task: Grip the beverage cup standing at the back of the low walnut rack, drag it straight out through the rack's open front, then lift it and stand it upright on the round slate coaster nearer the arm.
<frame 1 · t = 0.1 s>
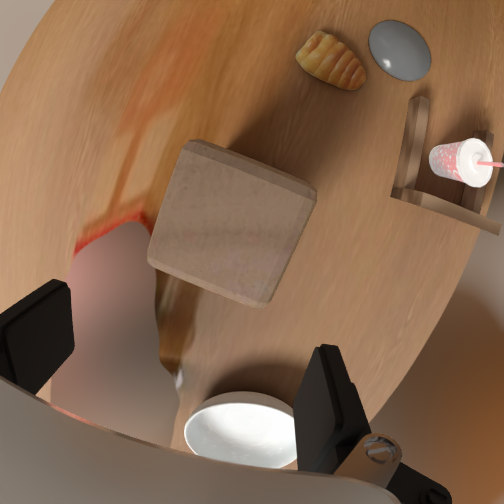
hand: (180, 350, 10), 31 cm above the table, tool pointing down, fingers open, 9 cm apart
block: (244, 197, 40), on the table
rack: (441, 160, 37), on the table
coaster: (400, 50, 32), on the table
beverage cup: (440, 160, 37), resting in rack
pastry: (328, 62, 34), on the table
serving bowl: (247, 415, 51), on the table
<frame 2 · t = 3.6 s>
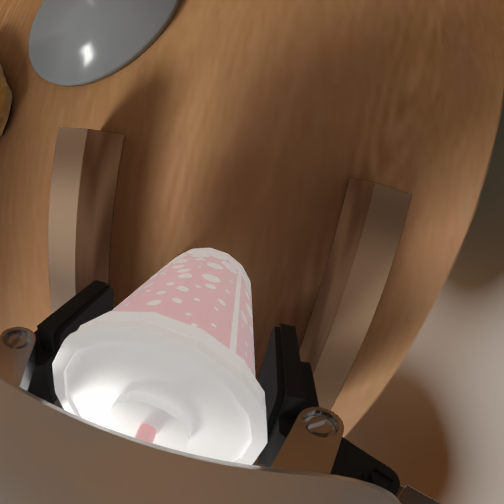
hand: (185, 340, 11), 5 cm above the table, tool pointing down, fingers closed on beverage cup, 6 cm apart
rack: (206, 291, 15), on the table
coaster: (98, 9, 11), on the table
beverage cup: (207, 289, 15), resting in rack, touching gripper
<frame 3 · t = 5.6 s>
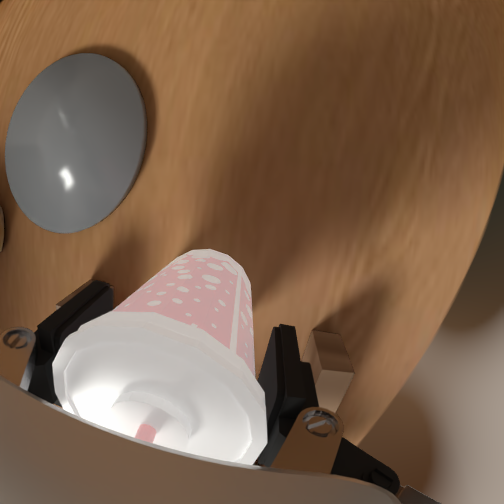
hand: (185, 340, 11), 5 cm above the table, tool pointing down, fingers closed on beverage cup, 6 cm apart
rack: (195, 403, 18), on the table
coaster: (66, 141, 13), on the table
beverage cup: (207, 291, 16), on the table, touching gripper
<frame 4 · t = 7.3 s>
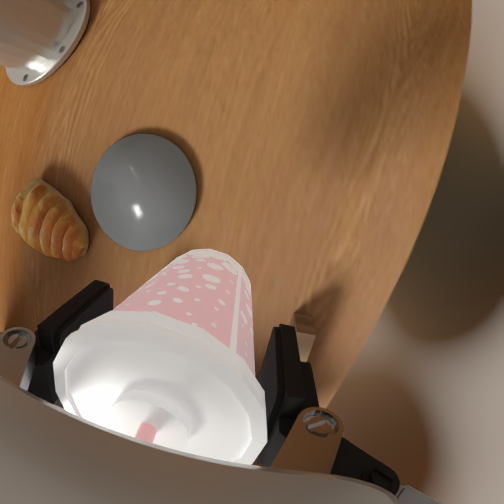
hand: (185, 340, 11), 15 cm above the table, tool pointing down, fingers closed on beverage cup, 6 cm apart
rack: (219, 362, 28), on the table
coaster: (141, 192, 25), on the table
beverage cup: (207, 290, 16), point 10 cm above the table, touching gripper
pastry: (56, 217, 26), on the table
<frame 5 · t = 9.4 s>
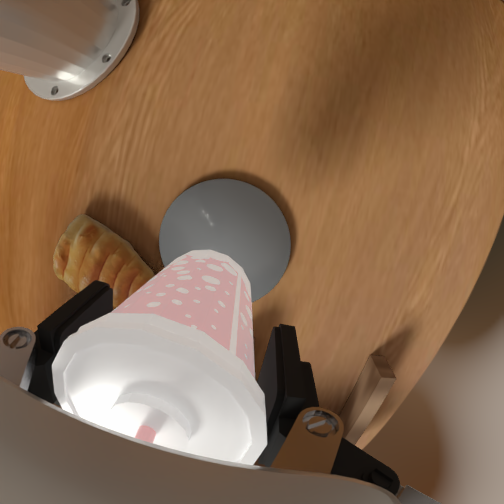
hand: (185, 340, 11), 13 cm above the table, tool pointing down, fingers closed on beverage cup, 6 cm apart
rack: (293, 402, 28), on the table
coaster: (224, 244, 23), on the table
beverage cup: (206, 291, 15), point 8 cm above the table, touching gripper
pastry: (108, 258, 25), on the table
when the fingers open (6 cm above the table, at t = 11.1 s): beverage cup stays where it is, resting on coaster.
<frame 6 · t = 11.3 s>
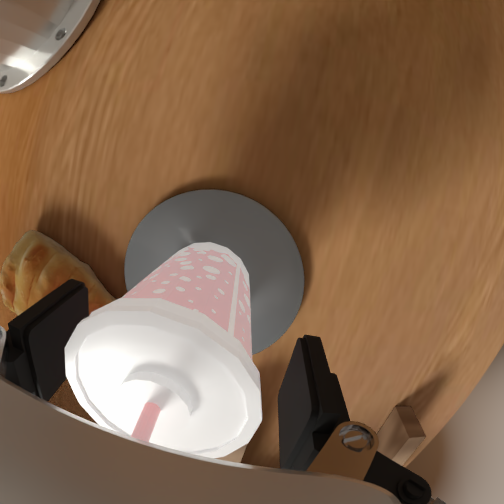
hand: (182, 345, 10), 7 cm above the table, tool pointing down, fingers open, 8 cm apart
rack: (300, 457, 21), on the table
coaster: (211, 280, 17), on the table
beverage cup: (207, 282, 16), resting on coaster
pastry: (68, 285, 18), on the table
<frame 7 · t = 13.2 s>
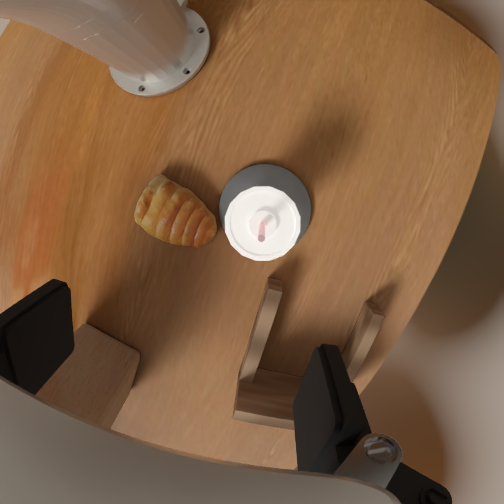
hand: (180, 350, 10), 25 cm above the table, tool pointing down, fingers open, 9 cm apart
block: (108, 358, 41), on the table
rack: (306, 340, 38), on the table
coaster: (265, 209, 34), on the table
beverage cup: (263, 209, 33), resting on coaster
pastry: (176, 210, 34), on the table
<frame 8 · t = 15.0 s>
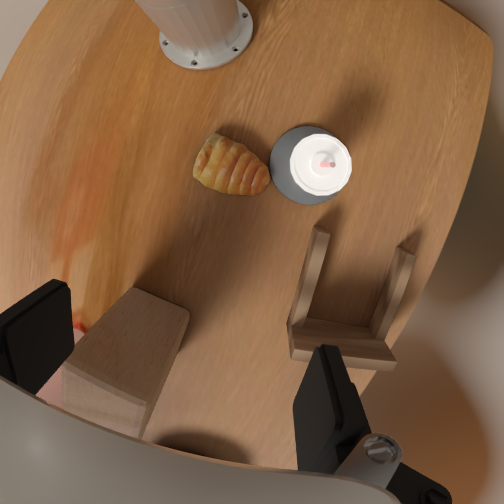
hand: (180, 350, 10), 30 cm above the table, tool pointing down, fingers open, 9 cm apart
block: (154, 322, 45), on the table
rack: (348, 285, 41), on the table
coaster: (309, 165, 37), on the table
beverage cup: (308, 164, 37), resting on coaster
pastry: (229, 165, 38), on the table
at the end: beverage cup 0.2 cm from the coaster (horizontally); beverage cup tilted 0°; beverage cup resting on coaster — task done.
